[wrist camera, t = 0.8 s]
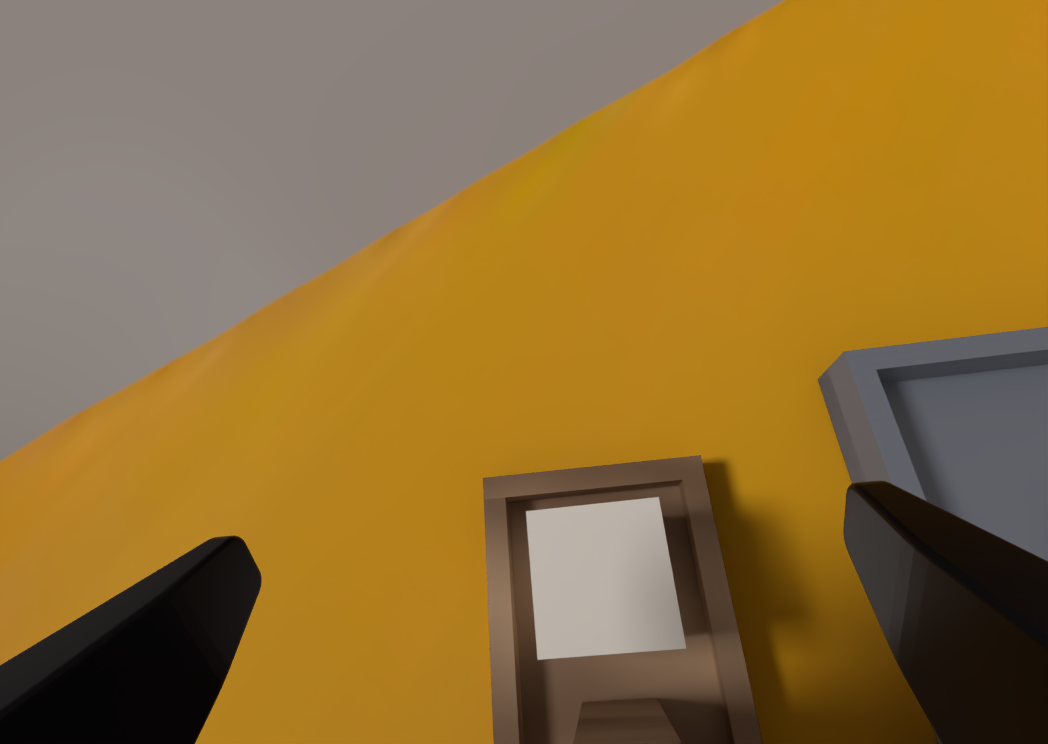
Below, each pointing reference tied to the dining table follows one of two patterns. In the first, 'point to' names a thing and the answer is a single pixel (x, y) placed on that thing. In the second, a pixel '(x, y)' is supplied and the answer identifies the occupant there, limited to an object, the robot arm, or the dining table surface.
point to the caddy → (628, 678)
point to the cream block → (602, 580)
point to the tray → (952, 426)
